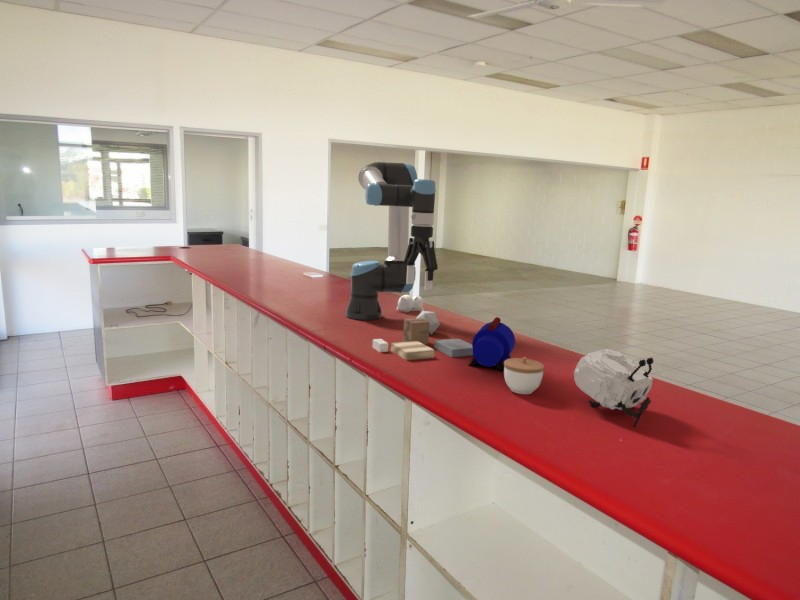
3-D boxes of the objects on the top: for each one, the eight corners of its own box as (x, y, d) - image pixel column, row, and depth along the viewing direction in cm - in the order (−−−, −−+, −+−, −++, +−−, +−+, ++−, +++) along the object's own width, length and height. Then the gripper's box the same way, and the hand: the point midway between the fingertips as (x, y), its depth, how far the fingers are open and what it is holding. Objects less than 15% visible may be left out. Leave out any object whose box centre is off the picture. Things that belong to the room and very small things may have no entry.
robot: (621, 442, 133) (652, 380, 125) (557, 393, 147) (582, 334, 139) (659, 427, 143) (690, 368, 136) (596, 382, 157) (621, 327, 149)
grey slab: (433, 348, 195) (434, 340, 194) (458, 346, 199) (459, 338, 198) (451, 358, 184) (452, 349, 184) (477, 356, 188) (477, 347, 188)
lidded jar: (494, 385, 158) (497, 353, 156) (526, 382, 162) (529, 351, 160) (516, 399, 148) (519, 364, 146) (549, 395, 152) (553, 361, 150)
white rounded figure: (422, 290, 254) (398, 290, 249) (431, 306, 248) (407, 306, 242) (415, 304, 260) (392, 304, 254) (424, 320, 253) (400, 321, 247)
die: (442, 333, 218) (433, 310, 221) (442, 327, 209) (433, 303, 213) (421, 340, 217) (412, 317, 221) (420, 334, 209) (411, 310, 212)
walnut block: (403, 341, 201) (404, 319, 200) (420, 339, 204) (421, 318, 203) (410, 345, 196) (411, 322, 195) (428, 343, 199) (429, 321, 198)
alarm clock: (514, 364, 179) (518, 318, 177) (504, 374, 168) (509, 325, 166) (477, 358, 184) (481, 313, 182) (465, 367, 173) (469, 320, 171)
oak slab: (390, 351, 189) (390, 342, 188) (417, 349, 193) (417, 340, 192) (406, 361, 178) (407, 352, 177) (434, 359, 182) (434, 350, 182)
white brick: (372, 347, 191) (372, 339, 190) (380, 347, 192) (380, 338, 192) (379, 352, 186) (379, 343, 185) (387, 351, 187) (388, 343, 186)
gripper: (396, 223, 202) (394, 281, 206) (430, 227, 180) (426, 293, 184) (415, 223, 205) (412, 281, 209) (450, 228, 183) (446, 292, 187)
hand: (418, 286), depth 197 cm, fingers open, 13 cm apart
